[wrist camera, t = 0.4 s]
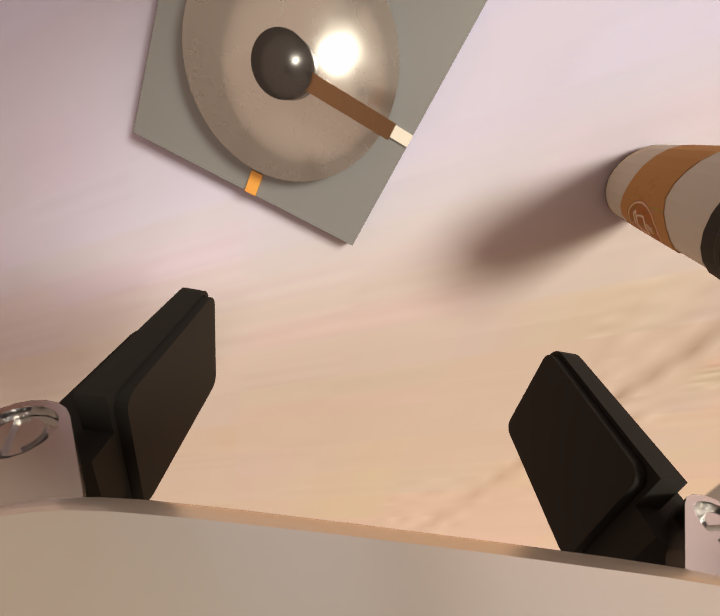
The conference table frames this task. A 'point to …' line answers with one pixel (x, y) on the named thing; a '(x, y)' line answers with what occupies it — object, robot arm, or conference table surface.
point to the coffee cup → (672, 198)
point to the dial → (293, 80)
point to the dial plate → (338, 192)
